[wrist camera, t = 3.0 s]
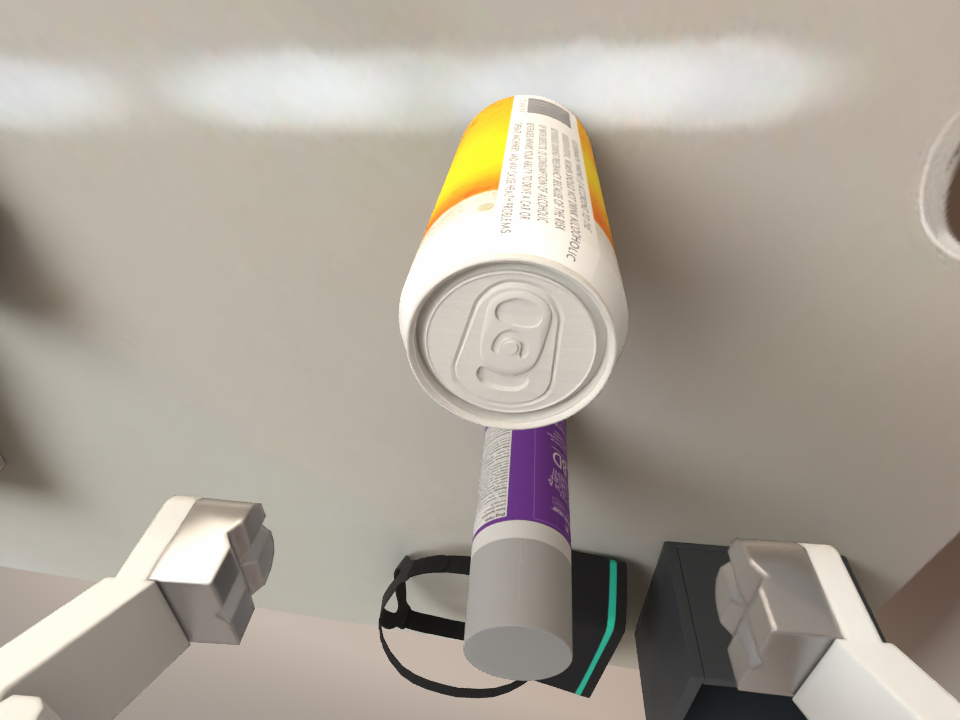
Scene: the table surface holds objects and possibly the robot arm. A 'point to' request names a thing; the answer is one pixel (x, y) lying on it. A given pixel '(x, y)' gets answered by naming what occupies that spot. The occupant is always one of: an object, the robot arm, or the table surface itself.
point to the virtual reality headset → (592, 621)
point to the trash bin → (697, 644)
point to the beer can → (516, 274)
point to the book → (2, 462)
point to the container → (521, 557)
